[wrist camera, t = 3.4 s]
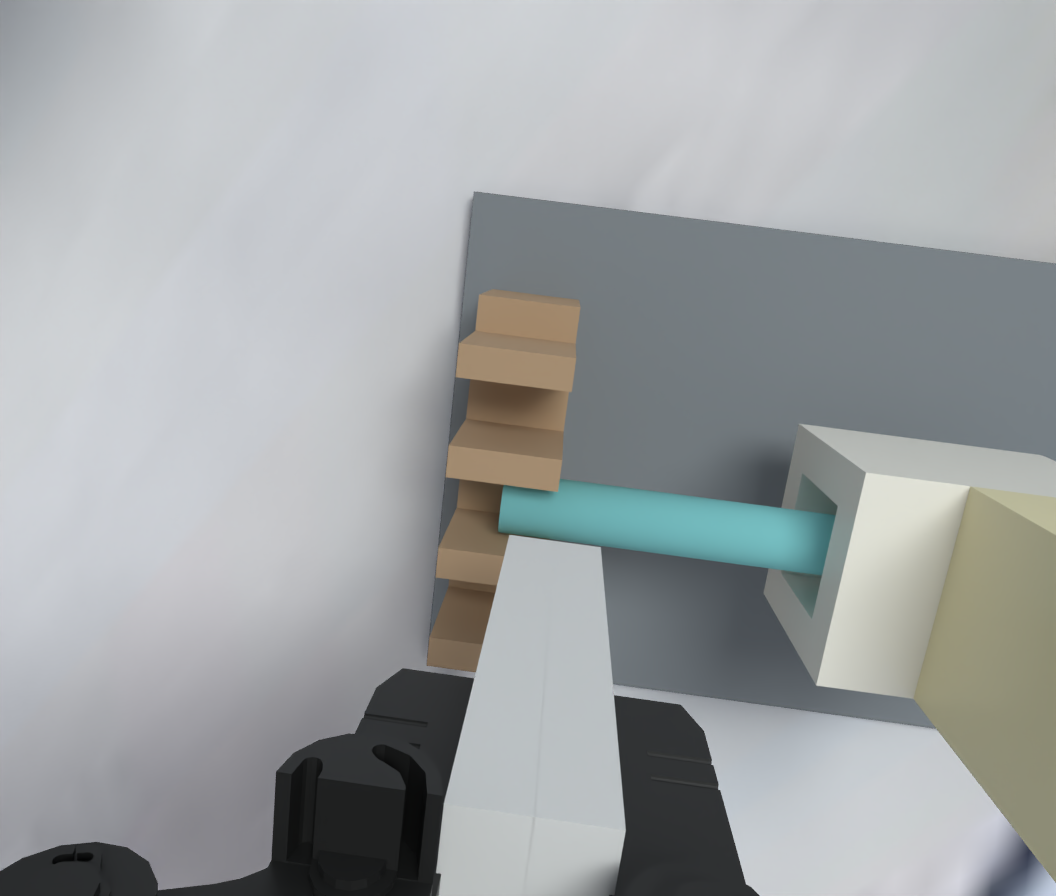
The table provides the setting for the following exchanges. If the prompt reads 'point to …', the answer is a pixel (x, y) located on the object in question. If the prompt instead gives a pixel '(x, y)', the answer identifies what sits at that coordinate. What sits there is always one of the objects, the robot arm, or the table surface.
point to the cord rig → (707, 418)
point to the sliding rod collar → (937, 599)
